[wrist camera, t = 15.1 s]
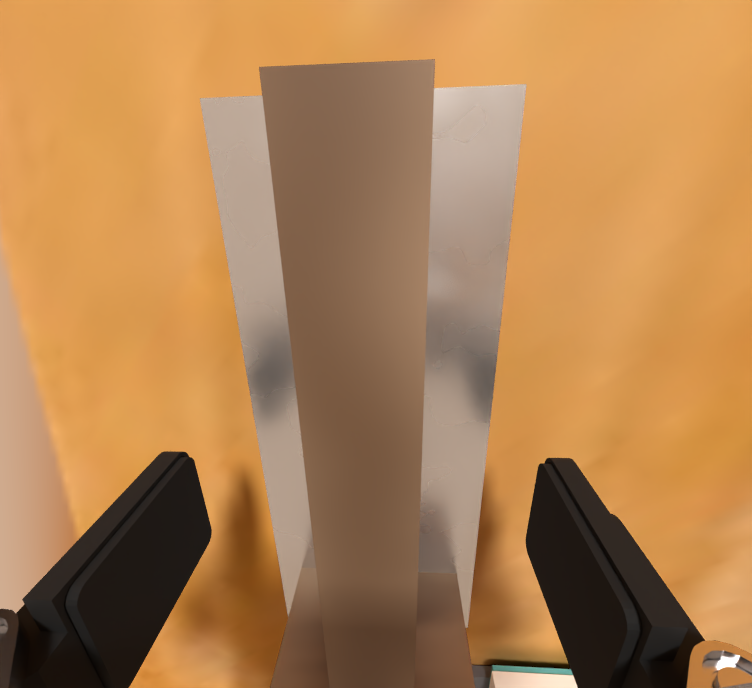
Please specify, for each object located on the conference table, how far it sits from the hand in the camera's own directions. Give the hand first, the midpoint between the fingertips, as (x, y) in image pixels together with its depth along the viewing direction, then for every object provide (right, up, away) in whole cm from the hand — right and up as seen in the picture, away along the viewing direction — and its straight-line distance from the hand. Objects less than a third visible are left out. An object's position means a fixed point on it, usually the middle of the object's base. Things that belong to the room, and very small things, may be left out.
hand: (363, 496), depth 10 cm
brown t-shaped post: (0, +1, +2) cm, 3 cm away
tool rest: (0, +1, +4) cm, 4 cm away
